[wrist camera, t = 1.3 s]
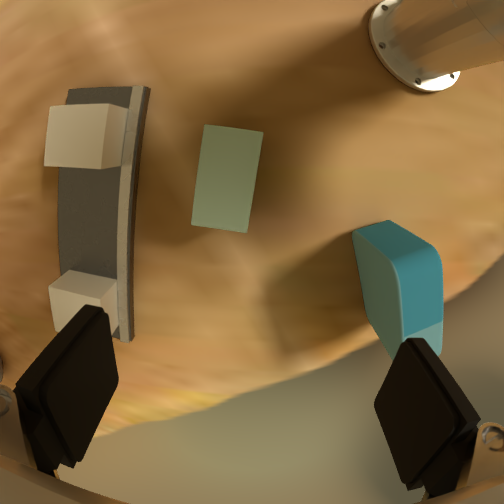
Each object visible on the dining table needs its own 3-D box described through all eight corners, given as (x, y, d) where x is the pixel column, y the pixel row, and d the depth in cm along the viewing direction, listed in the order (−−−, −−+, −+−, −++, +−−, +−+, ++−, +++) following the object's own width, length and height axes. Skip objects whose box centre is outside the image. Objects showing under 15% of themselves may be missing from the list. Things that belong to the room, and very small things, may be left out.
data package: (397, 305, 35) (441, 361, 24) (365, 317, 36) (402, 378, 25) (385, 216, 32) (442, 250, 20) (349, 227, 32) (394, 267, 21)
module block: (216, 131, 29) (204, 124, 22) (260, 137, 29) (263, 132, 22) (205, 206, 32) (190, 225, 24) (248, 213, 32) (246, 233, 24)
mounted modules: (75, 109, 27) (50, 106, 22) (129, 109, 27) (109, 103, 22) (73, 311, 35) (55, 331, 30) (119, 323, 35) (104, 345, 30)
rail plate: (74, 90, 27) (66, 88, 25) (150, 88, 27) (145, 85, 26) (71, 320, 36) (65, 326, 35) (134, 336, 37) (130, 343, 35)
